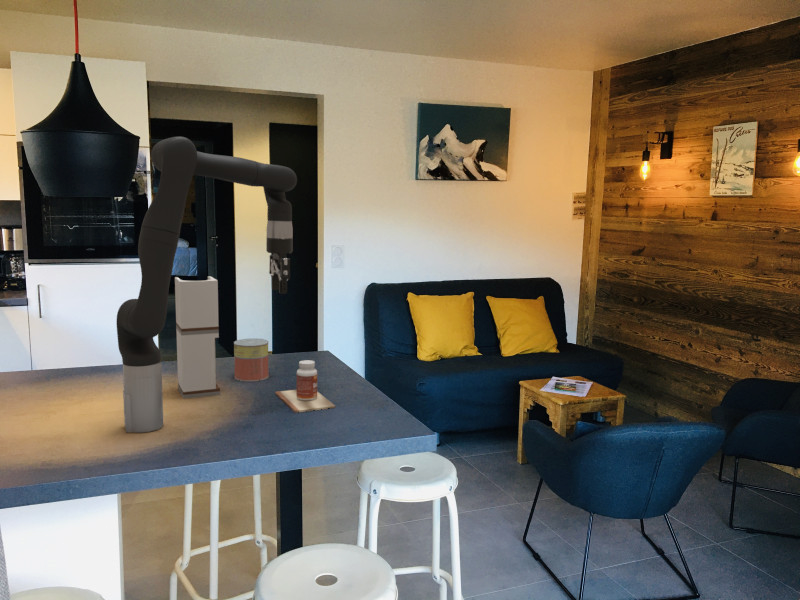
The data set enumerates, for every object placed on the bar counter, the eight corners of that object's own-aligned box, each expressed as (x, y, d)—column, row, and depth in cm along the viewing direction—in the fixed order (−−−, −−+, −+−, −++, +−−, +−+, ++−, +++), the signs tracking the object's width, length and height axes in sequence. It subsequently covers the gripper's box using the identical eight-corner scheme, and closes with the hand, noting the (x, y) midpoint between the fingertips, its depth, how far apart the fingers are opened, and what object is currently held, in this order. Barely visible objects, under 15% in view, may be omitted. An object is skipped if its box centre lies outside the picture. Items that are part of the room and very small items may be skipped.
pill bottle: (317, 401, 191) (317, 364, 189) (296, 401, 190) (296, 364, 189) (317, 394, 197) (317, 359, 196) (296, 395, 196) (296, 359, 195)
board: (294, 413, 182) (294, 410, 182) (275, 393, 199) (275, 391, 199) (335, 407, 187) (335, 405, 187) (312, 389, 205) (312, 387, 205)
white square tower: (219, 394, 197) (217, 280, 192) (183, 398, 193) (180, 281, 187) (213, 385, 207) (210, 276, 202) (178, 388, 203) (174, 277, 198)
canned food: (241, 371, 224) (241, 337, 223) (273, 373, 223) (273, 339, 221) (228, 380, 213) (228, 344, 212) (261, 382, 212) (261, 346, 210)
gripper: (261, 235, 194) (261, 289, 196) (273, 237, 181) (272, 295, 184) (285, 235, 197) (285, 288, 200) (299, 238, 185) (298, 294, 187)
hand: (279, 291), depth 192 cm, fingers open, 8 cm apart
